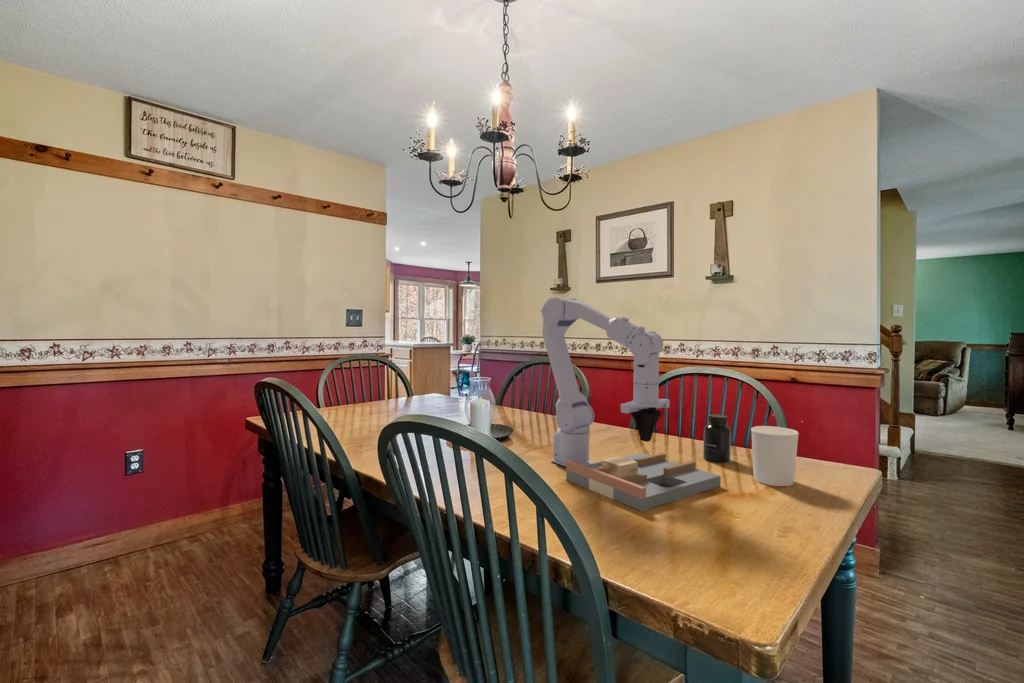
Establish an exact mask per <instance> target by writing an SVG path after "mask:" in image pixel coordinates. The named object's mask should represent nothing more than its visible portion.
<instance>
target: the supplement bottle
mask: <svg viewBox="0 0 1024 683" xmlns="http://www.w3.org/2000/svg"><path fill="white" fill-rule="evenodd" d="M707 423H708V424H706V425H705V426H704V428H703V447H702V448H703V452H702V456H703V459H705V460H706V461H709V462H711V463H712V462H713V463H721V464H723V463H728V462H730V460H731V450H732V449H731V447H732V430H731V428H730V426H729V425H728V424H729V422H728V416H727V415H724V414H709V415H708V417H707Z"/></svg>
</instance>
